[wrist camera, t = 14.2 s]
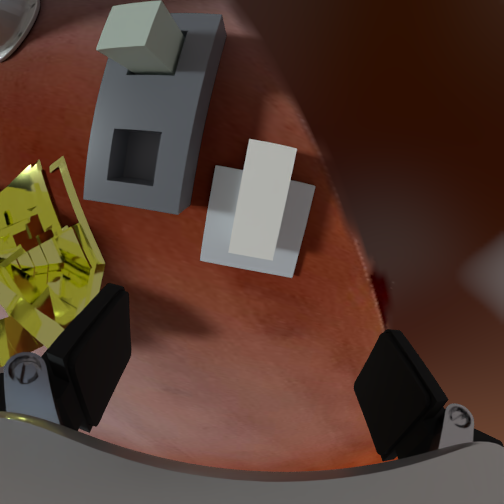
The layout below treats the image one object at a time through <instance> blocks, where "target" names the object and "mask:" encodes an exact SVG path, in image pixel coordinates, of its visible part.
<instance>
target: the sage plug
mask: <svg viewBox="0 0 504 504" xmlns="http://www.w3.org/2000/svg"><path fill="white" fill-rule="evenodd" d="M184 41H185V37H184V36H183V34H182V32H181V31H180V29H179V27H178V26H177V24H176V23H175V21H174V19H173V18H172V16H171V15H170V13H169V11H168V10H167V8H166V7H165V5H164V4H163V2H162V1H148V2H139V3H130V4H123V5H117V6H113V7H112V9H111V12H110V14H109V16H108V19H107V21H106V24H105V26H104V29H103V31H102V34H101V37H100V40H99V42H98V45H97V48H96V50H97V51H99V52H100V53H102V54H104V55H106V56H107V57H109V58H111V59H112V60H114V61H115V62H117V63H119V64H120V65H122V66H124V67H125V68H127V69H128V70H130V71H131V72H133V73H135V74H136V75H169V76H175V72H176V69H177V65H178V61H179V58H180V54H181V51H182V48H183V44H184Z"/></svg>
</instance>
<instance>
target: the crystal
mask: <svg viewBox="0 0 504 504" xmlns="http://www.w3.org/2000/svg"><path fill="white" fill-rule="evenodd" d="M58 167H59V168H60V171H61V174H62V178H63V181H64V183H65V186H66V189H67V192H68V195H69V198H70V200H71V203H72V206H73V208H74V211H75V214H76V216H77V219H78V221H79V223H78V224H75V225H73V226H71V227H69V228H68V225H67V226H65V227H64V228H63V226H62V223H61V221H60V218H59V216H58V213H57V210H56V208H55V205H54V202H53V199H52V196H51V193H50V191H49V188H48V184H47V181H46V178H45V175H44V172H43V170H42V167H41V163H40V160H38V161H37V162H36V163H34V164H33V165H32V164H31V165H29V166H28V167H27V168H26V169H25V170H24V171H23V172H22V173H21V174H20V175H18V176H17V177H16V178H15V179H14V180H13V181H12V182H11V183H10V184H9V185H8V186H7V187H6V188H5V189H4V190H2V191H1V192H0V305H1V306H2V307H3V308H4V309H5V310H6V312H7V314H8V316H9V317H7V318H4V319H1V320H0V367H2V366H4V365H5V364H6V362H7V361H8V360H9V359H10V358H11V357H12V356H13V355H15V354H17V353H21V352H32V351H34V350H36V349H38V348H40V347H42V346H45V347H47V348H49V347H50V346H51V345H52V343H53V342H54V341H55V340H56V339H57V337H58V336H59V335H60V334H61V333H62V332H63V331H64V329H65V328H66V327H67V326H68V325H69V324H70V323H71V321H72V320H73V319H74V318H75V317H76V316H77V315H78V314H79V313H80V312H81V311H82V310H83V309H84V308H85V307H86V306H87V305H88V304H89V303H90V301H91V300H92V299H93V298H94V297H95V296H96V295H97V294H98V293H99V291H100V286H101V281H102V276H103V272H104V267H105V262H104V259H103V257H102V255H101V253H100V250H99V248H98V246H97V244H96V242H95V239H94V237H93V235H92V232H91V230H90V228H89V225H88V223H87V221H86V218H85V216H84V213H83V211H82V208H81V206H80V203H79V200H78V198H77V195H76V192H75V189H74V187H73V184H72V181H71V178H70V175H69V172H68V169H67V166H66V162H65V159H64V156H62V157H61V158H60V159H58V160H57V161H56V162H54V163H53V164H52V165H50V173H52V172H53V171H54V170H56V169H57V168H58Z"/></svg>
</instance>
